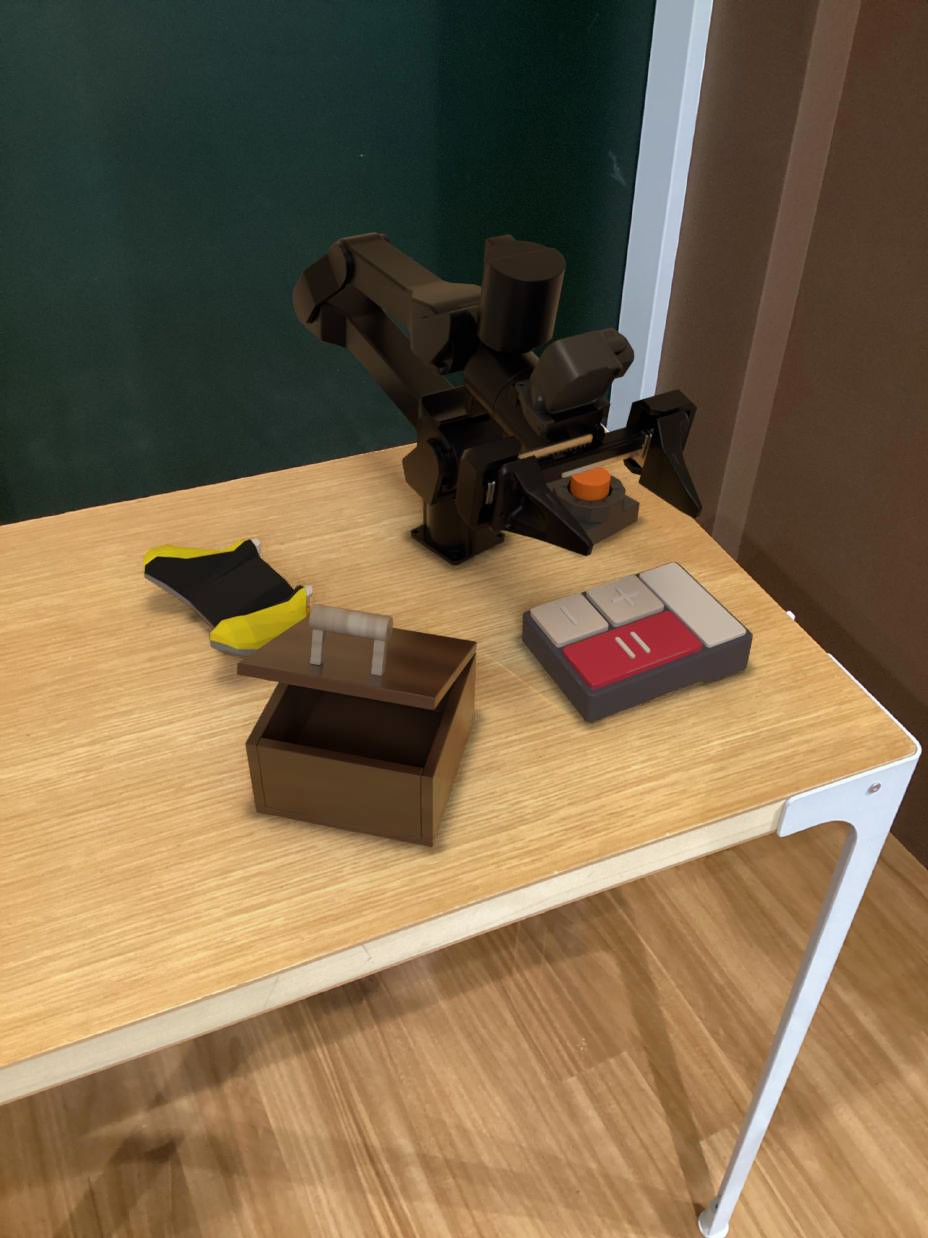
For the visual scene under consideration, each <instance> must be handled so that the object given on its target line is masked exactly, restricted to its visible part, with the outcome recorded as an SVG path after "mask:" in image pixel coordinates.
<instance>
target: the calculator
mask: <svg viewBox="0 0 928 1238" xmlns="http://www.w3.org/2000/svg"><path fill="white" fill-rule="evenodd" d="M521 628H522V637H521V638H522V642H523V644H524V645H525V646H526V647H527V648H528V650H529V651H530V652H531V653H532V655H533V656H534V657H535V658H536V661H538V662H539V664H540V665H541V666H542V667H543V669H544V670H545V671H546V673H547V675H549V676H550V677H551V680H553V682H554V683H555V684H556V686H558V688H559V689H560V690H561V691H562V693H563V694H564V696H566V698H567V700H569V702H570V703H571V705H573V707H574V708H575V709H576V710H577V712H578V713H579V714H580V716H581V717H582V718H583V719H584V721H585V722H587V723H594V722H596V721H599V720H602V719H605V718H607V717H610V716H612V715H616V714H619V713H621V712H623V711H626V710H629V709H631V708H634V707H636V706H639V705H642V704H644V703H647V702H649V701H650V702H651V701H652V700H655V699H657V698H660V697H662V696H666V695H668V694H671V693H673V692H676V691H679V690H681V689H683V688H687V687H689V686H692V685H694V684H696V683H700V682H707V683H713V682H716V681H718V680H720V679H723V678H725V677H726V678H727V677H728V676H731V675H734V674H736V673H739V672H741V671H744V670H746V669H747V668H748V663H749V658H750V654H751V648H752V643H753V638H754V634H753V632H751V631H750V629H748V628H747V627H746V625H744V623H742V622H741V621H740V619H738V618H737V617H736V616H734V614H733V613H732V612H731V611H729V610H728V608H726V607H725V605H724V604H722V603H721V602H720V601H719V599H717V598H716V597H715V596H714V595H713V594H712V593H711V592H709V590H707V589H706V588H705V587H704V586H703V585H702V583H700V581H698V580H697V579H696V578H695V577H694V576H693V575H691V573H690V572H688V571H687V569H685V568H684V567H683V566H682V565H681V564H680V563H679V562H677V561H671V562H668V563H665V564H662V565H659V566H656V567H654V568H653V567H652V568H650V569H647V570H645V571H641V572H638V573H635V574H628V575H626V576H623V577H620V578H617V579H615V580H611V581H608V582H606V583H602V584H599V585H596V586H593V587H590V588H588V589H586V590H584V591H582V592H576V593H572V594H569V595H566V596H563V597H561V598H557V599H554V600H552V601H548V602H545V603H543V604H539V605H537V606H534V607H532V608H530V609H528V610H526V611H523V613H522V627H521Z"/></svg>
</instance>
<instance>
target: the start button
mask: <svg viewBox="0 0 928 1238" xmlns="http://www.w3.org/2000/svg"><path fill="white" fill-rule="evenodd" d="M610 475H611V474H610V471H608V470H607V469H606V468H605V467H603V466H602V467H598V468H595V469H592V470H589V471H586V472H583V473H579V474H576V475H573V476H571V485H570V491H571V493H572V495H574V496H575V497H577V498H579V499H584V500H589V501H594V500H602V499H604V498H606V497H607V496H608V494H609V487H610V479H611V476H610Z"/></svg>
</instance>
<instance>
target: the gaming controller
mask: <svg viewBox="0 0 928 1238" xmlns="http://www.w3.org/2000/svg"><path fill="white" fill-rule="evenodd" d="M261 550H262V542H261V541H260V540H259V538H257V537H256V538H243V539H240V540H238V541H236V542H234V543H233V544H232V545H230V546H227V547H226V548H224V549H208V548H198V547H191V546H182V545H181V546H180V545H172V544H163V545H158V546H155V547H150V548H148V550H147V551H146V553H145V554H144V556H143V558H142V559H143V560H142V561H143V568H142V571H143V576H144V579H146V580H147V581H149V582H151V583H152V584H154V585H156V587H159V588H161V589H162V590H164V591H165V592H167V593H169V594H170V595H172V596H174V597H175V598H177V599H179V600H180V601H182V602H183V603H184V604H186V605H188V606H189V607H190V608H191V609H192V610H194V611H195V612H196V614H197V615H199V617H200V618H202V620H204V622H205V623H206V624H208V625H209V627H211V629H212V630H211V632H210V637H209V643H210V647H211V648H212V649H214V650H216V651H218V652H221V653H223V654H226V655H228V656H230V657H237V658H246V657H247V656H249V655H250V654H252V653H253V652H255V651H256V650H258V649H259V648H261V647H262V646H264V645H265V644H266V643H268V642H269V641H271V640H272V639H274V638H275V637H277V636H278V635H280V634H281V633H283V632H284V631H286V630H287V629H289V628H290V627H292V626H293V625H295V624H296V623H298V622H299V621H301V620H302V619H304V618H305V617H307V616H308V615H310V612H311V610H310V606H309V603H310V601H311V598H312V595H313V585H311V584H304V585H301V584H300V585H297V586H296V587H295V588H293V587H292V585H291V584H290V582H288V581H287V580H286V579H285V578H284V577H283V575H281V574H280V573H279V572H277V570H275V569H274V568H273V567H272V566H271V565H270V564H269V562H267V561H266V560H264V559H263V558H262V557H261V552H262V551H261Z"/></svg>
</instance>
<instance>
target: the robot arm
mask: <svg viewBox="0 0 928 1238" xmlns="http://www.w3.org/2000/svg"><path fill="white" fill-rule="evenodd" d="M566 265H567V262H566V259H565V257H564V255H563V254H562V253H561V252H560V251H559V250H558V249H556V248H554V247H547V246H545V245H543V244H540V243H536V242H533V241H524V240H517V239H515V238H514V237H513V235H511V234H504V235H503V234H502V235H498V236H492V237H488V238H486V239H485V244H484V253H483V271H482V279H481V286H480V285H477V284H473V283H459V282H448V281H445V280H443V279H442V278H440V277H439V276H437V275H436V274H434V273H433V272H431V271H430V270H428V269H427V268H425V267H424V266H423V265H421V264H419V262H417V261H416V260H414V259H412V258H411V257H409V256H408V255H406V254H405V253H404V252H402V251H401V250H399V249H398V248H397V247H395V246H394V245H393V244H392V242H391V240H390V238H389V237H388V236H387V235H386V234H384V233H379V232H368V233H364V234H358V235H352V236H347V237H341V238H339V239H337V241H335V242H333V243H332V244H331V245H330V247H329V249H328V250H327V253H326V254H324V255H323V256H321V257H320V258H319V259H318V260H316V261H315V262H314V263H312V264H311V265H310V266H308V267H307V268H306V269H304V270H303V271H302V272H301V275H299V279H298V280H297V282H296V284H295V286H294V288H293V291H292V303H293V309H294V311H295V315H296V317H297V319H298V321H299V322H300V323H301V324H303V325H304V326H305V328H306V330H308V331H309V332H310V333H311V334H312V335H313V336H314V337H316V338H317V339H318V340H319V341H321V343H324V344H329V345H333V346H335V347H336V346H337V347H341V348H345V349H348V350H349V351H350V353H351V354H352V355H353V356H354V357H355V358H356V360H357V361H358V362H359V363H360V364H361V367H363V368H364V370H366V372H367V373H368V374H369V375H370V376H371V378H372V379H373V380H374V381H375V383H377V385H378V386H379V387H380V388H381V389H382V391H383V392H384V393H385V394H386V396H387V397H388V398H389V399H390V400H391V401H392V403H393V404H394V405H395V406H396V408H398V410H399V411H400V412H401V414H402V415H403V416H404V417H405V418H406V419H407V421H408V422H409V423H410V424H411V425H412V426H413V428H414V430H416V433H417V434H416V435H417V436H416V447H414V448H413V449H412V450H411V451H410V452H409V453H407V454H406V455H405V456H404V457H402V459H401V463H402V464H401V465H402V468H403V474H404V480H405V483H406V484H407V485H408V486H409V487H410V488H411V489H412V490H413V491H414V492H415V493H416V494H417V495H418V496H419V497H420V498H421V499H422V524H421V525H419V526H416V527H414V528H412V529H411V530H410V531H409V532H410V537H411V538H412V539H413V540H415V541H416V542H418V543H419V544H421V545H423V546H424V547H425V548H426V549H428V550H429V551H431V552H432V553H434V554H435V555H437V556H438V557H439V558H441V559H443V560H444V561H445V562H447V563H448V564H450V565H452V566H458V565H461V564H463V563H465V562H467V561H468V560H470V559H472V558H474V557H476V556H478V555H481V554H482V553H484V552H486V551H487V550H490V549H492V548H494V547H496V546H497V545H499V544H502V543H503V542H505V541H506V534H505V533H504V532H507V533H512V534H516V535H519V536H523V537H525V538H530V539H534V540H536V541H541V542H544V543H547V544H550V545H552V546H554V547H555V546H556V547H558V548H561V549H563V550H566V551H569V552H572V553H575V554H578V555H580V556H584V557H588V556H591V554H592V552H593V550H594V545H593V543H592V541H591V539H590V538H589V536H588V535H587V533H586V532H585V530H584V529H583V528H582V526H581V525H580V524H579V523H578V522H577V520H576V519H575V518H574V517H573V516H572V515H571V513H570V512H569V511H568V510H567V509H566V508H565V507H564V505H563V504H562V503H561V502H560V501H559V500H558V498H557V497H556V496H555V495H554V494H553V493H552V491H551V490H550V489H549V488H548V487H547V485H546V484H547V483H550V482H553V481H557V480H560V479H563V478H566V477H570V476H573V475H576V474H579V473H583V472H586V471H589V470H592V469H595V468H598V467H602V468H603V467H605V466H607V465H611V464H614V463H618V462H621V461H622V462H623V465H624V467H625V468H626V469H627V470H628V471H629V472H630V473H631V474H633V475H637V476H639V478H638V482H637V483H638V484H639V485H640V486H642V487H643V488H645V490H648V491H649V492H650V493H652V494H654V495H655V496H657V497H658V498H659V499H661V500H662V501H664V502H666V503H668V505H670V506H671V507H673V508H675V510H677V511H679V512H680V513H683V514H685V515H686V516H688V517H690V518H692V519H699V517H700V516H701V513H702V511H703V504H702V501H701V499H700V497H699V494H698V491H697V489H696V486H695V483H694V481H693V479H692V476H691V473H690V471H689V469H688V465H687V463H686V460H685V457H684V451H685V448H686V445H687V441H688V438H689V435H690V432H691V429H692V426H693V423H694V419H695V416H696V413H697V410H698V406H697V405H696V404H695V403H694V401H692V400H691V399H690V398H689V397H688V396H687V395H686V394H684V393H683V391H681V389H679V388H676V389H673V390H670V391H666V392H662V393H659V394H655V395H652V396H648V397H645V398H642V399H638V400H635V401H632V402H631V405H630V409H629V413H628V417H627V420H626V424H625V426H623V427H621V428H618V429H617V428H616V429H614V430H611V431H607V432H606V430H605V427H604V426H603V424H602V421H603V419H606V418H608V417H609V412H610V408H611V405H612V403H611V402H609V400H608V399H607V398H605V397H604V396H605V395H606V394H607V392H608V391H609V389H610V387H611V386H612V384H613V383H614V381H615V380H616V379H620V378H623V377H625V375H626V373H627V372H628V370H629V369H630V367H631V365H632V364H633V363H634V361H635V350H634V348H633V346H632V345H631V343H630V342H629V340H628V339H627V337H626V336H625V335H623V334H622V333H621V332H619V331H618V330H617V329H615V328H614V327H608V328H607V327H606V328H603V329H600V330H599V329H597V330H596V329H595V330H592V331H588V332H583V333H579V334H575V335H571V336H568V337H563V338H560V339H557V340H554V341H553V342H551V343H549V345H548V346H546V347H545V348H544V350H543V352H542V353H541V356H540V357H538V355H536V354H535V353H534V350H535V349H536V348H539V347H542V346H544V345H546V344H547V343H548V342H550V341H552V340H553V336H554V330H555V324H556V319H557V313H558V308H559V303H560V298H561V293H562V287H563V283H564V278H565V277H564V276H565V272H566ZM389 315H390V316H391V317H392V318H394V319H395V320H396V321H397V322H399V323H400V324H401V325H403V326H404V327H405V328H406V329H407V331H409V333H410V338H409V337H408V335H407V334H406V333H405V332H404V331H403V330H402V329H401V328H400V326H398V324H397V323H396V322H395V321H394V320H393V319H392V318H391V317H390V316H389ZM462 371H464V372H463V385H460V386H456V387H455V386H453V385H452V384H451V383H450V382H449V381H448V380H447V378H446V377H445V376H446V375H449V374H454V373H456V372H457V373H458V372H462Z"/></svg>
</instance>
